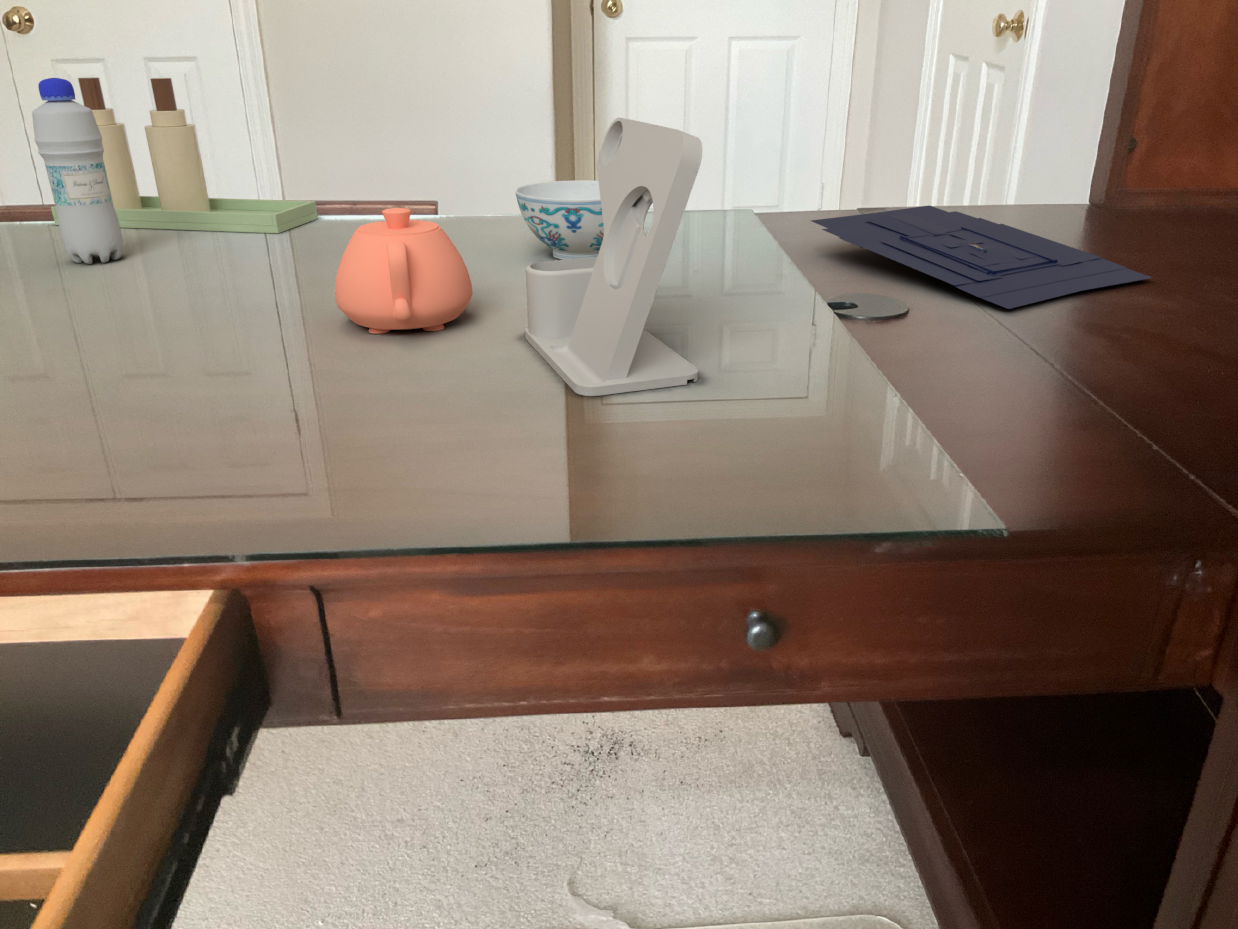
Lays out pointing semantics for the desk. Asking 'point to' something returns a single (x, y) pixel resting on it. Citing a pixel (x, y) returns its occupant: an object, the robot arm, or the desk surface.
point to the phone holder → (618, 269)
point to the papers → (979, 254)
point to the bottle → (76, 173)
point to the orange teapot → (401, 275)
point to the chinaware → (564, 216)
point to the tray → (219, 215)
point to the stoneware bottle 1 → (112, 147)
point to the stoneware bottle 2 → (175, 153)
